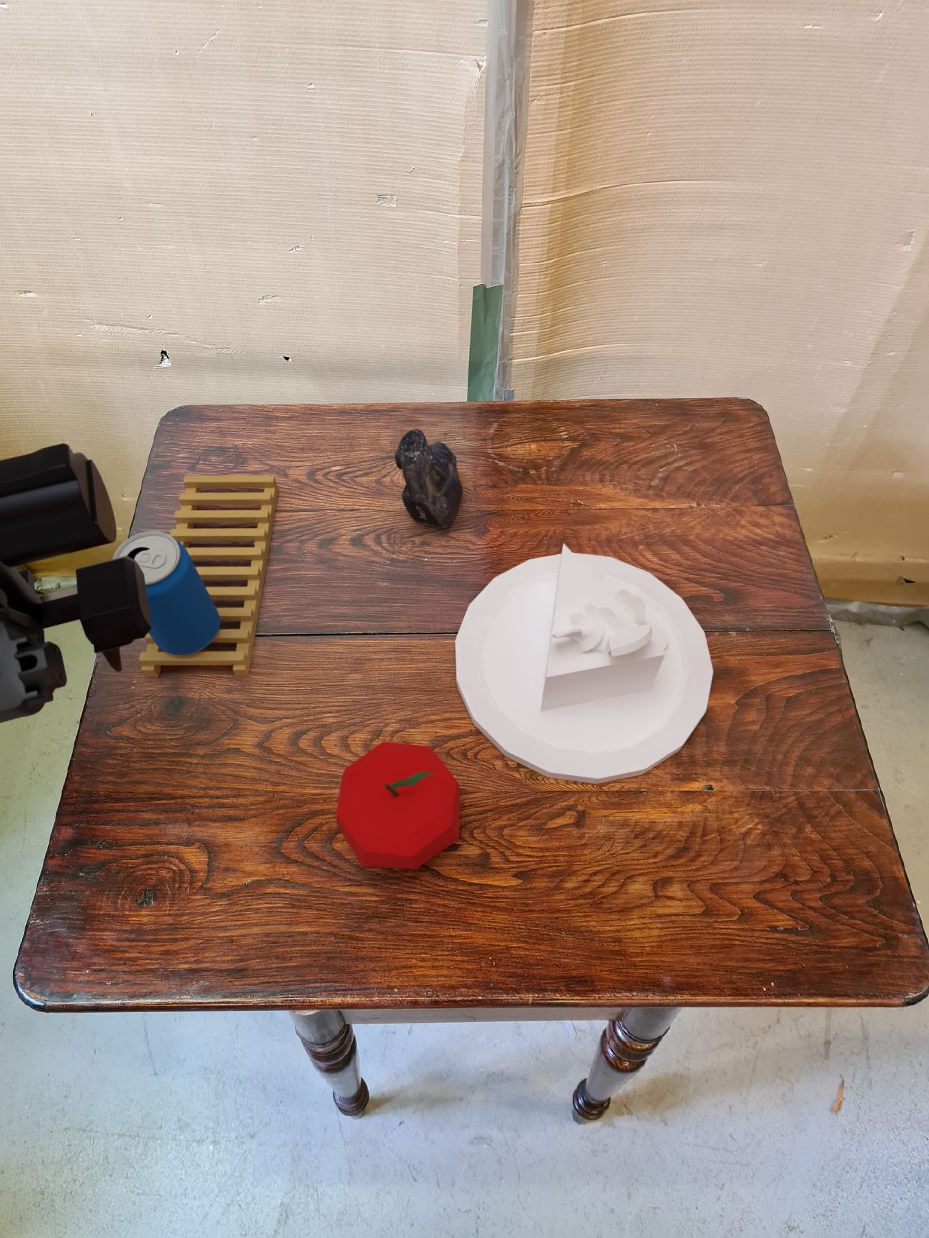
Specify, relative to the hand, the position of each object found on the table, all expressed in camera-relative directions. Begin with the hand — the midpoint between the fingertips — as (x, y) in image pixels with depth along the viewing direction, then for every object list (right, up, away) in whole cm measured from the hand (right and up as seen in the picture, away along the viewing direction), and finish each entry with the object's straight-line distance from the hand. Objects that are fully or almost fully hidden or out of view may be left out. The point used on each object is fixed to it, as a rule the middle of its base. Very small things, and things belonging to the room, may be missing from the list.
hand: (60, 682), depth 63 cm
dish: (+43, +1, +16) cm, 46 cm away
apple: (+27, -13, +7) cm, 31 cm away
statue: (+29, +17, +26) cm, 42 cm away
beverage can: (+5, +4, +15) cm, 16 cm away
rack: (+6, +10, +21) cm, 24 cm away
